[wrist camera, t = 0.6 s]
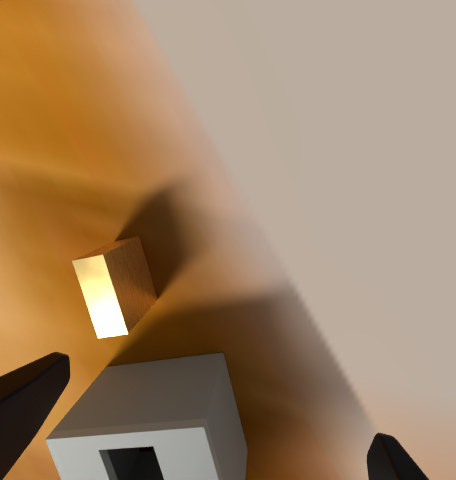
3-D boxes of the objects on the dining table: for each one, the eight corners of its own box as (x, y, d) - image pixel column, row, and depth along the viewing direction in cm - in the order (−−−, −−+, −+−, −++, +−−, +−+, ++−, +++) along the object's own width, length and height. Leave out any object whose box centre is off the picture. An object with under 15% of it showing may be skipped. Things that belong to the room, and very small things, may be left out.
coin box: (136, 456, 27) (91, 553, 20) (105, 366, 25) (45, 439, 18) (247, 449, 25) (239, 553, 18) (223, 352, 23) (203, 427, 17)
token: (133, 303, 24) (98, 337, 19) (114, 241, 23) (72, 260, 18) (157, 299, 23) (127, 333, 18) (139, 235, 22) (103, 254, 17)
